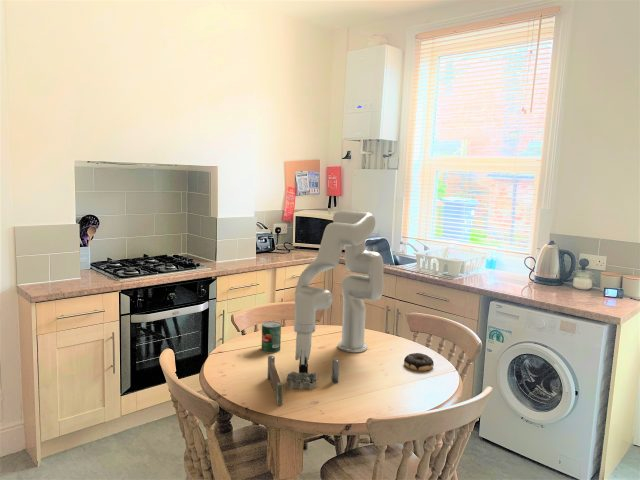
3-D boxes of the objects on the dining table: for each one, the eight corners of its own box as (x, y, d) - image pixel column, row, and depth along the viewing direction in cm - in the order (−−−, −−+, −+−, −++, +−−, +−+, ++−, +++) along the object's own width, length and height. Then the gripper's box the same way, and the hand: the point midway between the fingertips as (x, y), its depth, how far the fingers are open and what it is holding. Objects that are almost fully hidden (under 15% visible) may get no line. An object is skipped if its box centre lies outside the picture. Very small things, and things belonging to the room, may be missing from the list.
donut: (399, 367, 199) (399, 357, 198) (413, 358, 208) (413, 349, 208) (424, 374, 192) (425, 364, 192) (438, 365, 201) (439, 356, 201)
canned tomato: (257, 351, 210) (258, 325, 208) (267, 345, 217) (267, 320, 216) (275, 354, 207) (275, 328, 205) (283, 348, 214) (284, 322, 213)
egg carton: (285, 389, 176) (285, 377, 175) (287, 380, 183) (287, 369, 183) (315, 390, 175) (316, 379, 175) (317, 381, 183) (317, 370, 182)
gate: (273, 379, 182) (274, 360, 181) (282, 404, 163) (282, 384, 162) (269, 379, 182) (269, 361, 181) (277, 405, 162) (277, 384, 161)
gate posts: (268, 377, 185) (268, 355, 183) (338, 380, 184) (339, 359, 182) (267, 379, 182) (267, 358, 181) (338, 383, 181) (339, 361, 180)
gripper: (296, 319, 189) (294, 367, 192) (292, 332, 175) (290, 383, 177) (316, 320, 189) (314, 368, 192) (314, 334, 174) (312, 384, 177)
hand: (303, 375), depth 185 cm, fingers closed
